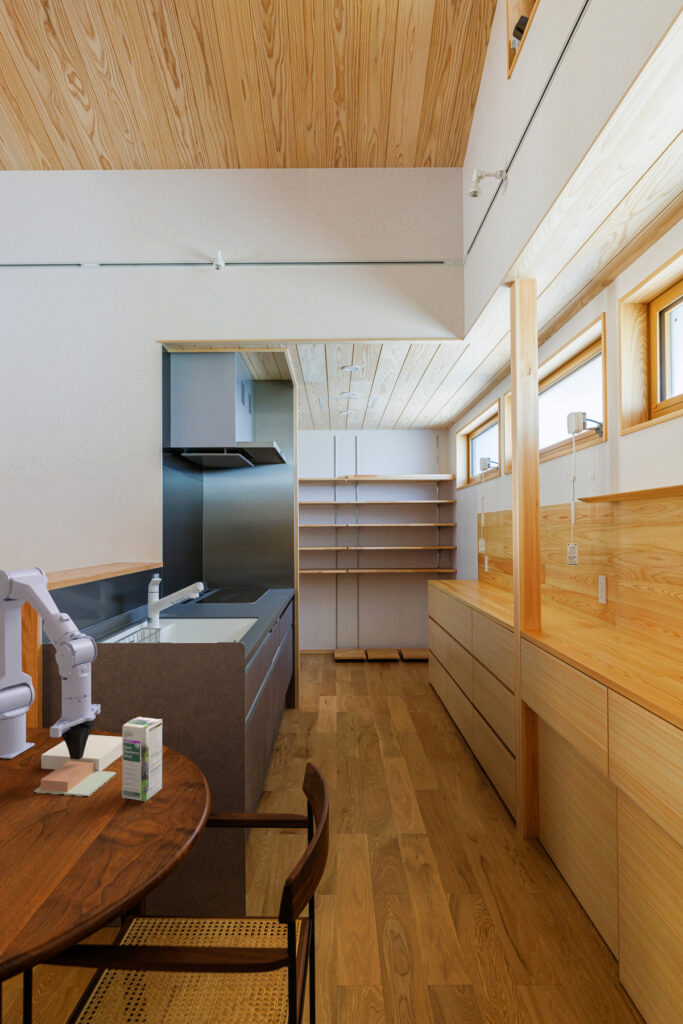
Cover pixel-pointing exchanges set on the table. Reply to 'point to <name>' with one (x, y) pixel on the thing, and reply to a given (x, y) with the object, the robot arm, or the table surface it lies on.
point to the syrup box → (141, 758)
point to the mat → (84, 784)
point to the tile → (67, 776)
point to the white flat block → (86, 753)
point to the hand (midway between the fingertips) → (76, 758)
